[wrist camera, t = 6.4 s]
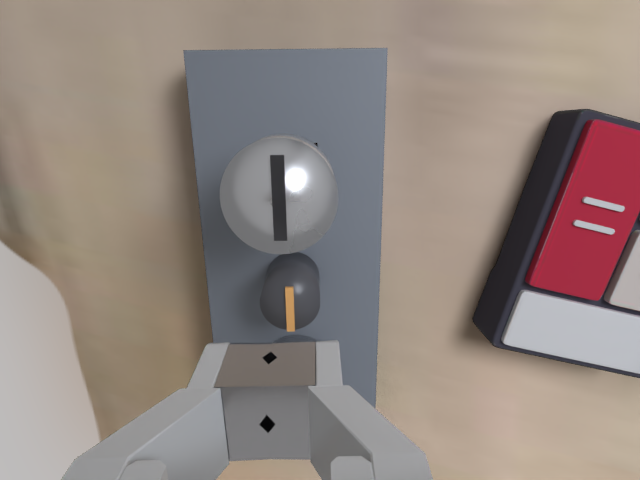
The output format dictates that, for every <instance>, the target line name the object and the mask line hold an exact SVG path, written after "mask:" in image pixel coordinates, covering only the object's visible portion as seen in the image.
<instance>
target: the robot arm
mask: <svg viewBox="0 0 640 480" xmlns="http://www.w3.org/2000/svg"><path fill="white" fill-rule="evenodd" d="M262 459H311V463H312V464H313V466H314V468H315V469H316V471H317V472H318V474H319V476H320V477H321V479H322V480H433V478H432V474H431V471H430V468H429V464H428V461H427V458H426V454H425V453H424V452H423V451H422V450H421V449H420V448H419V447H418V446H416V445H415V444H414V443H413V442H412V441H411V440H410V439H409V438H407V437H406V436H405V435H404V434H403V433H402V432H401V431H400V430H399V429H397V428H396V427H395V426H394V425H393V424H392V423H391V422H390V421H388V420H387V419H386V418H385V417H384V416H383V415H382V414H381V413H380V412H378V411H377V410H376V409H375V408H374V407H373V406H372V405H371V404H370V403H368V402H367V401H366V400H365V399H364V398H363V397H362V396H361V395H359V394H358V393H357V392H356V391H355V390H354V389H353V388H352V387H351V386H349V385H343V383H342V372H341V361H340V349H339V342H338V340H330V341H315V342H292V343H229V342H226V343H209V344H207V345H206V346H205V348H204V350H203V353H202V355H201V357H200V359H199V361H198V364H197V366H196V368H195V370H194V372H193V375H192V377H191V379H190V381H189V384H188V386H187V388H184V389H178V390H177V391H175V392H174V393H172V394H171V395H169V396H168V397H167V398H165V399H164V400H162V401H161V402H159V403H158V404H156V405H155V406H153V407H152V408H150V409H149V410H147V411H146V412H144V413H143V414H141V415H140V416H138V417H137V418H135V419H134V420H132V421H131V422H129V423H128V424H126V425H125V426H123V427H122V428H121V429H119V430H118V431H116V432H115V433H113V434H112V435H110V436H109V437H107V438H106V439H104V440H103V441H101V442H100V443H98V444H97V445H96V446H94V447H92V448H91V449H89V450H88V451H86V452H85V453H83V454H82V455H80V456H79V457H78V458H76V459H75V460H74V461H73V463H72V464H71V466H70V467H69V469H68V470H67V472H66V473H65V475H64V476H63V477H62V479H61V480H216V479H217V477H218V476H219V475H220V474H221V473H222V472H223V470H224V469H225V468H226V467H227V466H228V464H229V461H242V460H262Z"/></svg>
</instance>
